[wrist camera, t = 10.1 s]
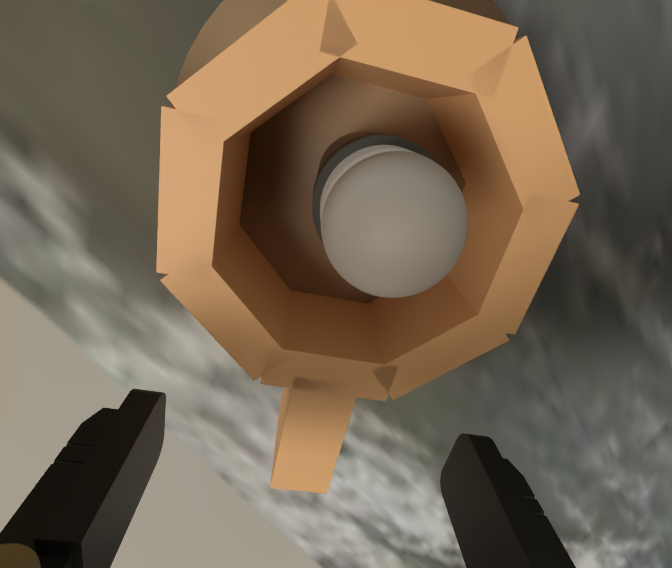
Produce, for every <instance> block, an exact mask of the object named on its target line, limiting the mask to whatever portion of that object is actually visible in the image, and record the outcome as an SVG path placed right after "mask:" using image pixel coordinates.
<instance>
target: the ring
mask: <svg viewBox="0 0 672 568" xmlns="http://www.w3.org/2000/svg"><path fill="white" fill-rule="evenodd" d="M518 28H519V27H515V26H512V25H509V24H506V23H502V22H499V21H496V20H492V19H489V18H486V17H482V16H479V15H476V14H472V13H469V12H466V11H462V10H459V9H456V8H452V7H449V6H446V5H443V4H439V3H436V2H433V1H429V0H288V1H287V2H285V3H284V4H283V5H282V6H280V7H279V8H278V9H276V10H275V11H274V12H273V13H271V14H270V15H269V16H268V17H266V18H265V19H264V20H262V21H261V22H260V23H259V24H257V25H256V26H255V27H253V28H252V29H251V30H250V31H248V32H247V33H246V34H245V35H243V36H242V37H241V38H239V39H238V40H237V41H236V42H234V43H233V44H232V45H231V46H229V47H228V48H227V49H225V50H224V51H223V52H222V53H220V54H219V55H218V56H217V57H215V58H214V59H213V60H211V61H210V62H209V63H208V64H206V65H205V66H204V67H203V68H201V69H200V70H199V71H197V72H196V73H195V74H194V75H192V76H191V77H190V78H188V79H187V80H186V81H185V82H183V83H182V84H181V85H180V86H178V87H177V88H176V89H174V90H173V91H172V92H171V93H169V94H168V95H167V98H168V99H169V100H170V102H171V103H172V104H173V106H174V107H173V106H162V107H161V140H160V173H159V205H158V238H157V271H156V272H158V273H164V274H165V275H164V276H163V278H162V279H161V280H160V281H161V282H162V283H163V284H164V285H165V286H166V288H167V289H168V290H169V291H170V292H171V293H172V294H173V295H174V296H175V297H176V298H177V299H178V300H179V301H180V302H181V303H182V305H183V306H184V307H185V308H186V309H187V310H188V311H189V312H190V313H191V314H192V315H193V316H194V317H195V318H196V319H197V320H198V322H199V323H200V324H201V325H202V326H203V327H204V328H205V329H206V330H207V331H208V332H209V333H210V334H211V335H212V336H213V338H214V339H215V340H216V341H217V342H218V343H219V344H220V345H221V346H222V347H223V348H224V349H225V350H226V351H227V352H228V353H229V355H230V356H231V357H232V358H233V359H234V360H235V361H236V362H237V363H238V364H239V365H240V366H241V367H242V368H243V369H244V370H245V372H246V373H247V374H248V375H249V376H250V377H251V378H252V379H253V380H255V379H257V378H259V377H261V376H262V380H261V384H266V385H273V386H280V387H284V389H283V393H282V398H281V403H280V408H279V417H278V425H277V434H276V442H275V451H274V460H273V468H272V477H271V485H270V488H277V489H287V490H297V491H307V492H317V493H327V490H328V487H329V484H330V481H331V477H332V474H333V471H334V468H335V465H336V461H337V458H338V455H339V452H340V449H341V445H342V442H343V439H344V436H345V433H346V429H347V426H348V423H349V420H350V417H351V413H352V410H353V407H354V404H355V401H356V397H359V398H366V399H373V400H380V401H386V400H387V397H388V394H389V395H390V396H391V398H392V399H393V400H394V399H396V398H398V397H400V396H402V395H404V394H406V393H408V392H410V391H412V390H414V389H416V388H418V387H420V386H422V385H424V384H425V383H427V382H429V381H431V380H433V379H435V378H437V377H439V376H441V375H443V374H445V373H447V372H449V371H451V370H453V369H455V368H457V367H459V366H461V365H462V364H464V363H466V362H468V361H470V360H472V359H474V358H476V357H478V356H480V355H482V354H484V353H486V352H488V351H490V350H492V349H494V348H496V347H498V346H499V345H501V344H503V343H505V342H507V341H509V339H508V337H507V335H506V333H508V334H514V335H515V334H516V332H517V330H518V328H519V326H520V324H521V322H522V320H523V318H524V316H525V313H526V311H527V309H528V307H529V305H530V303H531V301H532V299H533V297H534V295H535V293H536V291H537V289H538V287H539V285H540V283H541V281H542V279H543V277H544V275H545V273H546V271H547V269H548V267H549V265H550V262H551V260H552V258H553V256H554V254H555V252H556V250H557V248H558V246H559V244H560V242H561V240H562V238H563V236H564V234H565V232H566V230H567V228H568V226H569V224H570V222H571V220H572V218H573V216H574V214H575V211H576V209H577V207H578V205H579V204H578V203H575V202H572V201H570V200H572V199H573V198H575V197H577V196H579V195H580V193H579V190H578V187H577V184H576V181H575V178H574V175H573V172H572V169H571V166H570V163H569V160H568V157H567V154H566V151H565V148H564V145H563V142H562V139H561V136H560V133H559V130H558V127H557V124H556V121H555V118H554V116H553V113H552V110H551V107H550V104H549V101H548V98H547V95H546V92H545V89H544V86H543V83H542V80H541V77H540V74H539V71H538V68H537V65H536V62H535V59H534V56H533V53H532V50H531V47H530V44H529V41H528V38H527V35H526V36H523V37H521V38H518V39H515V37H516V34H517V31H518ZM331 74H333V75H336V76H340V77H344V78H348V79H352V80H356V81H359V82H363V83H367V84H371V85H375V86H378V87H382V88H386V89H390V90H394V91H398V92H401V93H405V94H409V95H413V96H417V97H420V98H424V99H427V101H428V103H429V105H430V107H431V109H432V112H433V114H434V116H435V118H436V120H437V122H438V124H439V127H440V129H441V131H442V133H443V135H444V137H445V139H446V141H447V144H448V146H449V148H450V150H451V152H452V154H453V156H454V159H455V161H456V163H457V165H458V167H459V169H460V171H461V174H462V176H463V178H464V180H465V182H466V183H465V186H464V189H463V192H462V194H463V197H464V200H465V203H466V207H467V214H468V233H467V238H466V242H465V245H464V248H463V251H462V253H461V255H460V257H459V259H458V261H457V262H456V264H455V266H454V267H453V268H452V270H451V271H450V272H449V273H448V274H447V275H446V276H445V277H444V278H443V279H442V280H441V281H439V282H438V283H437V284H435V285H434V286H432V287H431V288H429V289H427V290H425V291H423V292H421V293H418V294H415V295H411V296H407V297H400V298H387V297H378V298H376V299H374V300H373V301H371V302H369V303H361V302H355V301H350V300H344V299H338V298H333V297H327V296H322V295H316V294H310V293H305V292H299V291H293V290H290V289H289V288H288V287H287V285H286V284H285V283H284V281H283V280H282V279H281V278H280V276H279V275H278V274H277V272H276V271H275V270H274V268H273V267H272V266H271V265H270V263H269V262H268V261H267V259H266V258H265V257H264V256H263V254H262V253H261V252H260V250H259V249H258V248H257V247H256V245H255V244H254V243H253V241H252V240H251V239H250V238H249V236H248V235H247V234H246V232H245V231H244V230H243V228H242V227H241V226H240V225H239V224H240V216H241V208H242V200H243V191H244V183H245V175H246V167H247V159H248V150H249V142H250V134H251V132H252V131H254V130H255V129H256V128H258V127H259V126H261V125H262V124H263V123H265V122H266V121H268V120H269V119H270V118H272V117H273V116H274V115H276V114H277V113H279V112H280V111H281V110H283V109H284V108H286V107H287V106H288V105H290V104H291V103H292V102H294V101H295V100H297V99H298V98H299V97H301V96H302V95H304V94H305V93H306V92H308V91H309V90H310V89H312V88H313V87H315V86H316V85H317V84H319V83H320V82H322V81H323V80H324V79H326V78H327V77H329V76H330V75H331Z"/></svg>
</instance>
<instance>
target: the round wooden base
mask: <svg viewBox="0 0 672 568" xmlns="http://www.w3.org/2000/svg"><path fill="white" fill-rule="evenodd" d="M287 1H288V0H223V1H222V2H221V4H220V5H219V6H218V7H217V9H216V10H215V11H214V13H213V14H212V15H211V16H210V18H209V19H208V20H207V22H206V23H205V24H204V26H203V27H202V29H201V31H200V32H199V34H198V36H197V38H196V39H195V41H194V43H193V45H192V47H191V48H190V50H189V52H188V54H187V57H186V59H185V62H184V65H183V67H182V70H181V72H180V75H179V77H178V81H177V85H176V88H177V87H178V86H180V85H181V84H182V83H183V82H185V81H186V80H187V79H188V78H190V77H191V76H192V75H194V74H195V73H196V72H197V71H199V70H200V69H201V68H203V67H204V66H205V65H206V64H208V63H209V62H210V61H211V60H213V59H214V58H215V57H217V56H218V55H219V54H220V53H222V52H223V51H224V50H225V49H227V48H228V47H229V46H231V45H232V44H233V43H234V42H236V41H237V40H238V39H239V38H241V37H242V36H243V35H245V34H246V33H247V32H248V31H250V30H251V29H252V28H253V27H255V26H256V25H257V24H259V23H260V22H261V21H262V20H264V19H265V18H266V17H268V16H269V15H270V14H271V13H273V12H274V11H275V10H276V9H278V8H279V7H280V6H282V5H283V4H284V3H285V2H287ZM429 1H433V2H436V3H439V4H443V5H446V6H449V7H452V8H456V9H459V10H462V11H466V12H469V13H472V14H476V15H479V16H482V17H486V18H489V19H492V20H496V21H499V22H502V23H506V24H509V23H508V22H507V20H506V18H505V17H504V15H503V14H502V13H501V11H500V10H499V9H498V8H497V7H496V5H495V4H494V3H493V2H492V1H491V0H429ZM515 39H518V38H517V36H516V37H515ZM172 106H173V104H172ZM173 107H174V106H173ZM465 183H466V182H465V180H464V178H463V176H462V174H461V171H460V169H459V167H458V165H457V163H456V161H455V159H454V156H453V154H452V152H451V150H450V148H449V146H448V144H447V141H446V139H445V137H444V135H443V133H442V131H441V129H440V127H439V124H438V122H437V120H436V118H435V116H434V114H433V112H432V109H431V107H430V105H429V103H428V101H427V99H424V98H420V97H417V96H413V95H409V94H405V93H401V92H398V91H394V90H390V89H386V88H382V87H378V86H375V85H371V84H367V83H363V82H359V81H356V80H352V79H348V78H344V77H340V76H336V75H333V74H331V75H330V76H329V77H327V78H326V79H324V80H323V81H322V82H320V83H319V84H317V85H316V86H315V87H313V88H312V89H310V90H309V91H308V92H306V93H305V94H304V95H302V96H301V97H299V98H298V99H297V100H295V101H294V102H292V103H291V104H290V105H288V106H287V107H286V108H284V109H283V110H281V111H280V112H279V113H277V114H276V115H274V116H273V117H272V118H270V119H269V120H268V121H266V122H265V123H263V124H262V125H261V126H259V127H258V128H256V129H255V130H254V131H252V132H251V134H250V142H249V150H248V159H247V167H246V175H245V183H244V191H243V200H242V208H241V216H240V224H239V225H240V226H241V227H242V228H243V230H244V231H245V232H246V234H247V235H248V236H249V238H250V239H251V240H252V241H253V243H254V244H255V245H256V247H257V248H258V249H259V250H260V252H261V253H262V254H263V256H264V257H265V258H266V259H267V261H268V262H269V263H270V265H271V266H272V267H273V268H274V270H275V271H276V272H277V274H278V275H279V276H280V278H281V279H282V280H283V281H284V283H285V284H286V285H287V287H288V288H289V289H290V290H293V291H299V292H305V293H310V294H316V295H322V296H327V297H333V298H338V299H344V300H350V301H355V302H361V303H369V302H371V301H373V300H374V299H376V298H378V297H387V298H400V297H407V296H411V295H415V294H418V293H421V292H423V291H425V290H427V289H429V288H431V287H432V286H434V285H435V284H437V283H438V282H439V281H441V280H442V279H443V278H444V277H445V276H446V275H447V274H448V273H449V272H450V271H451V270H452V268H453V267H454V266H455V264H456V262H457V261H458V259H459V257H460V255H461V253H462V251H463V248H464V245H465V242H466V238H467V233H468V214H467V207H466V203H465V200H464V197H463V194H462V192H463V189H464V186H465Z"/></svg>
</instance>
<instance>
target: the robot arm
mask: <svg viewBox="0 0 672 568" xmlns="http://www.w3.org/2000/svg"><path fill="white" fill-rule="evenodd" d="M165 406H166V395H165V393H162V392H155V391H147V390H140V389H132V390H131V391H130V392H129V394H128V395H127V397H126V398H125V400H124V401H123V403H122V405H121V406H120V408H119V409H110V408H102V409H101V410H99V411H98V412H97V413H95V414H94V415H92V416H91V417H90V418H88V419H87V420H86V421H84V422H83V423H82V424H81V425H80V426H79V428H78V429H77V430H76V432H75V433H74V434H73V436H72V437H71V439H70V440H69V441H68V443H67V446H66V447H64V448H63V449H62V451H61V452H60V453H59V455H58V456H57V457H56V459H55V461H54V463H53V464H51V465H50V467H49V468H48V469H47V471H46V472H45V473H44V475H43V476H42V477H41V479H40V480H39V482H38V483H37V484H36V486H35V487H34V489H33V490H32V491H31V492H30V494H29V495H28V496H27V498H26V499H25V500H24V502H23V503H22V504H21V506H20V507H19V509H18V510H17V511H16V513H15V514H14V515H13V517H12V518H11V519H10V521H9V522H8V523H7V525H6V526H5V527H4V529H3V530H2V531H1V533H0V568H110V567H111V564H112V562H113V560H114V557H115V555H116V553H117V551H118V548H119V546H120V544H121V542H122V540H123V537H124V535H125V533H126V531H127V529H128V526H129V524H130V522H131V519H132V517H133V515H134V513H135V511H136V508H137V506H138V504H139V502H140V499H141V497H142V495H143V493H144V490H145V488H146V486H147V484H148V481H149V479H150V477H151V475H152V473H153V470H154V468H155V466H156V463H157V461H158V458H159V456H160V452H161V449H162V445H163V439H164V427H165ZM440 485H441V492H442V496H443V499H444V502H445V505H446V508H447V511H448V514H449V517H450V520H451V523H452V526H453V529H454V532H455V535H456V538H457V541H458V544H459V547H460V550H461V553H462V556H463V559H464V562H465V565H466V568H576V567H575V565H574V564H573V562H572V560H571V558H570V557H569V555H568V553H567V551H566V550H565V548H564V546H563V544H562V543H561V541H560V539H559V537H558V536H557V534H556V532H555V530H554V529H553V527H552V525H551V523H550V522H549V520H548V518H547V516H544V511H543V509H542V508H541V506H540V504H539V502H538V501H537V500H535V498H534V496H535V495H534V494H533V492H532V490H531V488H530V487H529V485H528V483H527V482H526V480H525V478H524V476H523V475H522V474H521V473H520V472H519V471H518V470H517V469H516V468H515V467H514V466H513V465H512V463H511V462H510V461H509V460H508V459H503V458H502V456H501V454H500V452H499V450H498V449H497V447H496V445H495V443H494V441H493V440H492V439H491V438H490V437H487V436H479V435H472V434H464V433H463V434H461V435H459V437H458V438H457V440H456V442H455V444H454V446H453V448H452V451H451V453H450V455H449V457H448V459H447V461H446V463H445V465H444V467H443V469H442V472H441V479H440Z"/></svg>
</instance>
